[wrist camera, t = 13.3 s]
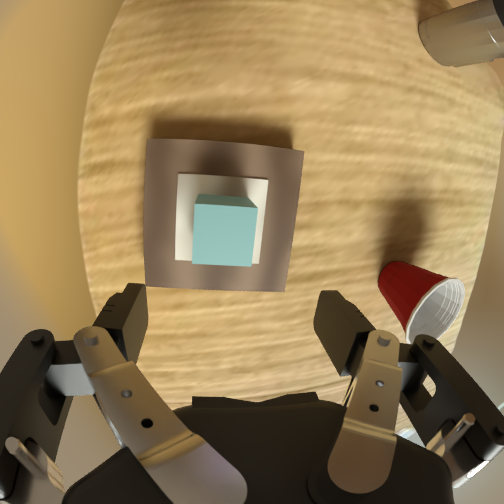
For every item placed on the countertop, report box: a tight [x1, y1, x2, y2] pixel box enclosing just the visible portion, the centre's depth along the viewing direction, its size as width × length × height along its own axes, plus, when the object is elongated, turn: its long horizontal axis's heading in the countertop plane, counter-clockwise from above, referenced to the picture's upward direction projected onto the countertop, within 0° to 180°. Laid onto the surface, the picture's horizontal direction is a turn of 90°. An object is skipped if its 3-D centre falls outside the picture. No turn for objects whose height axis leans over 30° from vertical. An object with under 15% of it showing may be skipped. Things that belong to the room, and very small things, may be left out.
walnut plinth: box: [144, 139, 304, 292], centre depth 30 cm, size 16×16×4 cm
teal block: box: [192, 194, 258, 267], centre depth 25 cm, size 5×5×6 cm
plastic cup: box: [378, 261, 465, 344], centre depth 33 cm, size 11×11×12 cm
